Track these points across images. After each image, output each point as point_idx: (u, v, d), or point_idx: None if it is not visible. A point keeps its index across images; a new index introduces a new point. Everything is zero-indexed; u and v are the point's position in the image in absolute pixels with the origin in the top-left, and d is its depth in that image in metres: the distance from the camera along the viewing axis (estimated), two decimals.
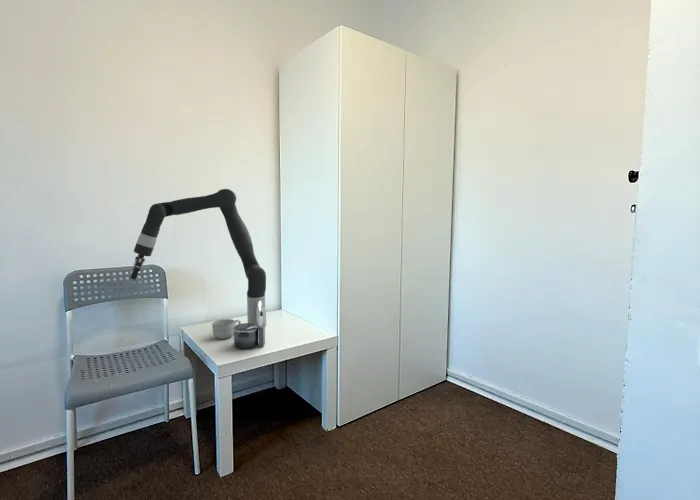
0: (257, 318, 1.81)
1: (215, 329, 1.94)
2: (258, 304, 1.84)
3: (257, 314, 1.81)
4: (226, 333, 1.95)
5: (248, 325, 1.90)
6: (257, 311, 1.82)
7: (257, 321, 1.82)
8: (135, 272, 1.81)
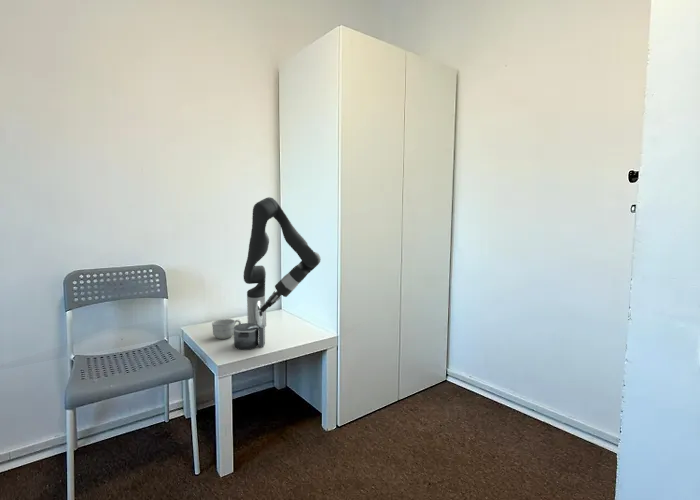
0: (256, 318, 1.81)
1: (215, 329, 1.94)
2: (257, 304, 1.84)
3: (256, 314, 1.81)
4: (226, 333, 1.95)
5: (248, 325, 1.90)
6: (256, 311, 1.81)
7: (257, 321, 1.82)
8: None
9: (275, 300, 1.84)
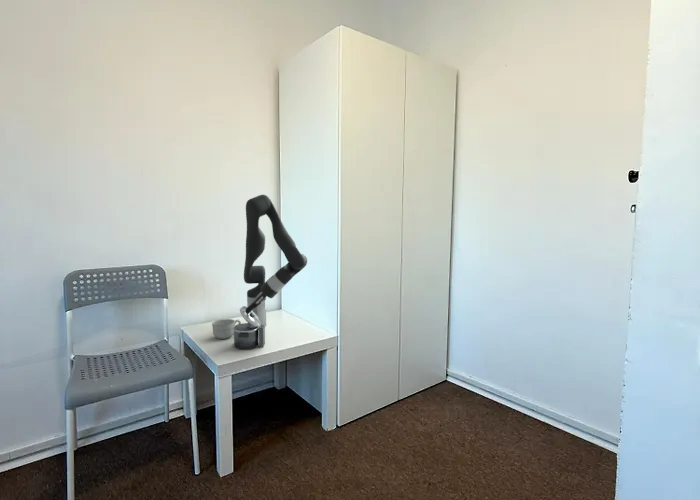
0: (248, 321, 1.81)
1: (215, 329, 1.94)
2: (241, 310, 1.84)
3: (245, 318, 1.81)
4: (226, 333, 1.95)
5: (248, 325, 1.90)
6: (244, 316, 1.81)
7: (251, 323, 1.82)
8: None
9: (260, 301, 1.84)
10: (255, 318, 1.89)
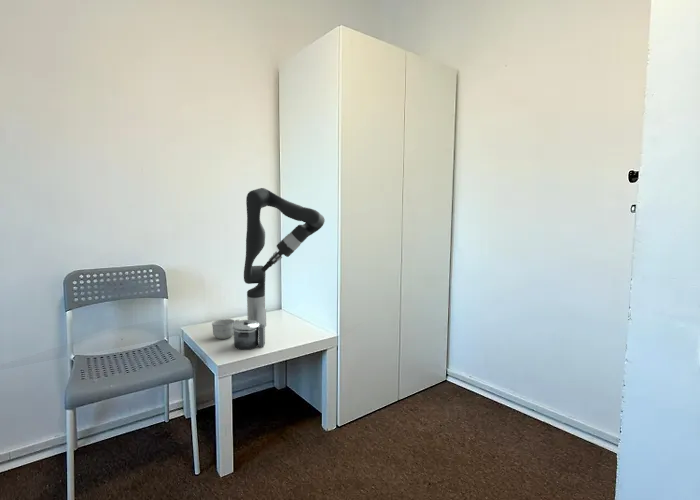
0: (244, 329, 1.82)
1: (215, 329, 1.94)
2: (233, 326, 1.84)
3: (240, 328, 1.82)
4: (226, 333, 1.95)
5: None
6: (237, 328, 1.82)
7: (248, 329, 1.82)
8: None
9: (276, 259, 1.82)
10: (251, 323, 1.89)
